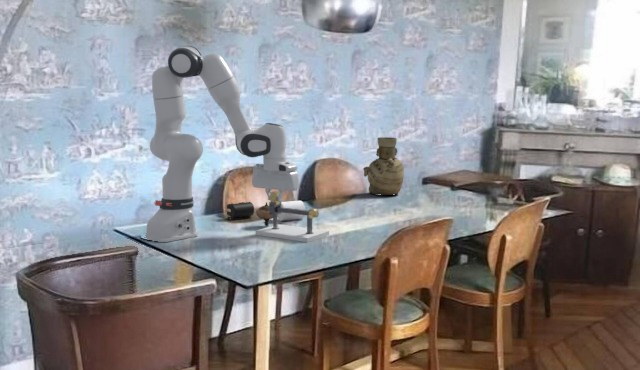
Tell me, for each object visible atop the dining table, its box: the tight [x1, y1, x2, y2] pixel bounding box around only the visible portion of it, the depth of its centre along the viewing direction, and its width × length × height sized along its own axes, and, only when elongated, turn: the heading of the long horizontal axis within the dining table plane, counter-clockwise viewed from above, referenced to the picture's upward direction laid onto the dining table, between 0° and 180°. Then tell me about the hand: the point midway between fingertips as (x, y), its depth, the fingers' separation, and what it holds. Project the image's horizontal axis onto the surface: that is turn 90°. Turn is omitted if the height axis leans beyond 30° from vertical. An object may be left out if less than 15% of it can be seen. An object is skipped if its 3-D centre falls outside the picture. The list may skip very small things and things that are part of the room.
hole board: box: [255, 223, 330, 243], centre depth 269 cm, size 15×24×2 cm, turn 58°
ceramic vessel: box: [363, 136, 405, 195], centre depth 365 cm, size 19×21×30 cm
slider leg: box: [268, 190, 282, 228], centre depth 272 cm, size 4×3×14 cm, turn 148°
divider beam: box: [268, 207, 320, 233], centre depth 268 cm, size 2×22×10 cm, turn 58°
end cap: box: [226, 201, 255, 220], centre depth 301 cm, size 10×7×7 cm
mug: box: [277, 200, 306, 222], centre depth 296 cm, size 12×10×8 cm
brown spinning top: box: [255, 202, 273, 227], centre depth 284 cm, size 8×8×10 cm
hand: (274, 200), depth 271 cm, fingers closed on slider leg, 3 cm apart
